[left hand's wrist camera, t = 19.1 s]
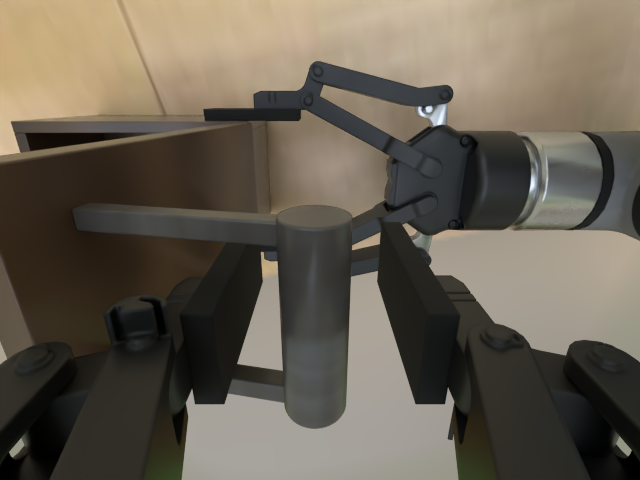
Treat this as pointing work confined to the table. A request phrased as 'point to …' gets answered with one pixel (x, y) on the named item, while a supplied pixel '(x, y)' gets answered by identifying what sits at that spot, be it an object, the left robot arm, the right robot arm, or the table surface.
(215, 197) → the lid
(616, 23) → the table surface
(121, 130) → the chest
